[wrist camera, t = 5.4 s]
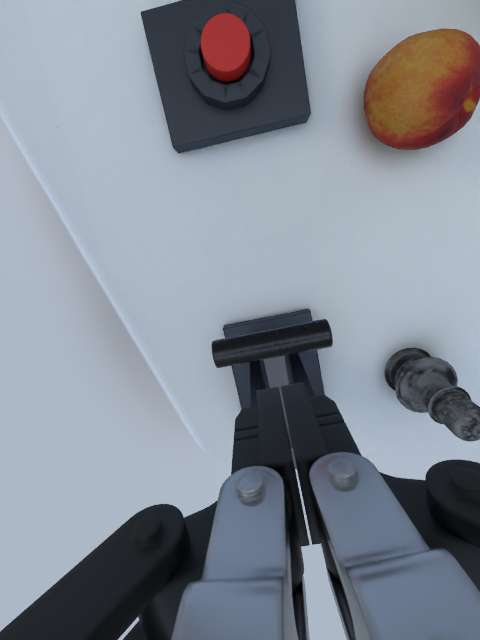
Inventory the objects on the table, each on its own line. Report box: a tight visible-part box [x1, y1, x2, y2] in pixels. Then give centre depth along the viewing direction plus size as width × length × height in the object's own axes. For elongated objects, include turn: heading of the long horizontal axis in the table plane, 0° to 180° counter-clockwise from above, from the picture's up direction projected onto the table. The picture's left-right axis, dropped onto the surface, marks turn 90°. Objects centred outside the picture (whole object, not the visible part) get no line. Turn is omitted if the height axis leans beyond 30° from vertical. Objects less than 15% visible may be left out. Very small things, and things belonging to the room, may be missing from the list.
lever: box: [212, 319, 333, 469], centre depth 20 cm, size 12×6×2 cm, turn 12°
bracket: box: [223, 309, 324, 409], centre depth 29 cm, size 12×9×15 cm
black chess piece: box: [385, 348, 480, 441], centre depth 30 cm, size 6×6×12 cm
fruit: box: [364, 29, 480, 150], centre depth 26 cm, size 8×8×8 cm
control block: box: [141, 0, 311, 153], centre depth 27 cm, size 12×10×4 cm
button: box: [201, 13, 250, 82], centre depth 25 cm, size 4×4×2 cm
